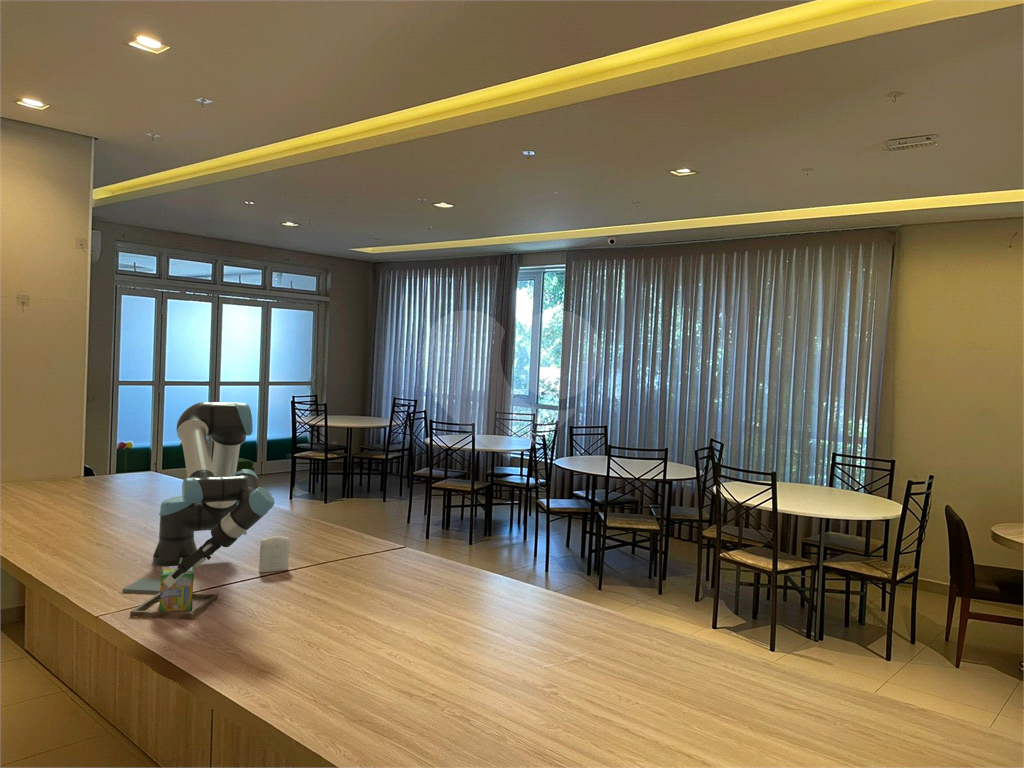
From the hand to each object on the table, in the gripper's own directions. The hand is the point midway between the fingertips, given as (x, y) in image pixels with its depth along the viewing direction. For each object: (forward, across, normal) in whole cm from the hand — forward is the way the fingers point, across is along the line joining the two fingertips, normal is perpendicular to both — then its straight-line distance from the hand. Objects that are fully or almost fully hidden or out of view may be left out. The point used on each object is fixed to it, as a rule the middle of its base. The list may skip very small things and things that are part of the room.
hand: (177, 577), depth 212 cm
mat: (+18, +17, +5) cm, 25 cm away
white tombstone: (-5, +41, -18) cm, 45 cm away
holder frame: (+7, 0, -6) cm, 9 cm away
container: (+33, +141, +20) cm, 146 cm away
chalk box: (+7, 0, -7) cm, 10 cm away
